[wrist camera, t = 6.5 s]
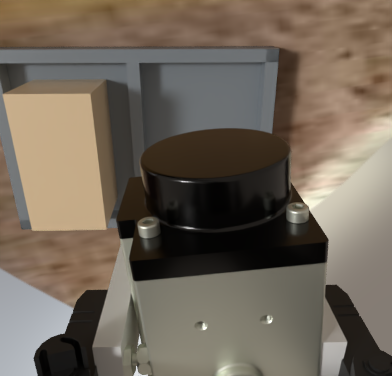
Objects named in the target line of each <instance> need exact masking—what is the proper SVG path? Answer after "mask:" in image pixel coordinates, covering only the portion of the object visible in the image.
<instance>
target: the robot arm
mask: <svg viewBox="0 0 392 376" xmlns="http://www.w3.org/2000/svg"><path fill="white" fill-rule="evenodd" d="M138 339H139V328H138V323H137V319H136V314H135V309H134V304H133V299H132V295H131V290H130V285H129V280H128V275H127V271H126V266H125V261H124V256H123V251H122V247H121V245H120V249H119V253H118V256H117V260H116V263H115V267H114V271H113V274H112V278H111V281H110V285H109V289H108V290H86V291H85V292H84V293H83V295H82V296H81V297H80V298H79V299H78V300H77V302H76V305H75V307H74V310H73V314H72V315H71V318H70V321H69V323H68V326H67V329H66V332H65V334H60V335H57V336H54V337H51V338H50V339H48V340H47V341H45V342H44V343H42V344H41V346H40V347H39V348H38V349H37V350H36V353H35V356H34V362H35V366H36V369H37V374H38V376H124V373H123V357H124V349H125V347H126V345H131V344H134V348H135V352H136V353H137V347H138ZM320 376H392V356H391V355H389V354H387V353H386V352H384V351H381V350H380V349H379V347H378V346H377V344H376V342H375V341H374V339H373V337H372V335H371V334H370V332H369V330H368V328H367V327H366V325H365V323H364V322H363V320H362V318H361V316H359V313H358V311H357V310H356V308H355V307H354V304H353V303H352V301H351V299H350V298H349V296H348V294H347V293H345V292H344V291H343V290H342V289H341V288H340V287H338V286H337V285H326V286H325V301H324V316H323V331H322V346H321V361H320Z"/></svg>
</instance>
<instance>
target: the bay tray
mask: <svg viewBox="0 0 392 376" xmlns="http://www.w3.org/2000/svg"><path fill="white" fill-rule="evenodd" d="M278 60H279V48H276V47H274V46H233V47H0V137H1V142H2V146H3V150H4V155H5V159H6V163H7V168H8V172H9V176H10V181H11V185H12V189H13V194H14V198H15V202H16V207H17V211H18V215H19V220H20V224H21V228H22V229H32V231H54V230H106V229H107V228H118V227H117V223H116V218H117V215H118V212H119V208H120V205H121V202H122V199H123V196H124V193H125V189H126V186H127V183H128V180H129V178H131V177H140V176H141V170H140V164H139V161H140V157H141V155H142V153H143V152H144V151H145V150H146V149H147V148H149V147H150V146H151V145H153V144H155V143H157V142H159V141H161V140H163V139H166V138H169V137H172V136H175V135H179V134H183V133H187V132H193V131H198V130H206V129H218V128H243V129H253V130H259V131H264V132H268V133H271V134H272V127H273V116H274V105H275V94H276V82H277V71H278Z"/></svg>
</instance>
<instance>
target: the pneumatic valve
mask: <svg viewBox="0 0 392 376" xmlns="http://www.w3.org/2000/svg"><path fill="white" fill-rule="evenodd" d="M139 164H140V170H141V176H140V177H131V178H129V180H128V183H127V186H126V189H125V193H124V196H123V199H122V202H121V205H120V208H119V212H118V215H117V218H116V223H117V227H118V232H119V237H120V242H121V247H122V251H123V256H124V261H125V266H126V271H127V275H128V280H129V285H130V290H131V295H132V299H133V304H134V309H135V314H136V319H137V323H138V328H139V333H140V338H141V343H142V344H140V345H139V346H138V349H137V353H136V352H135V348H134V344H131V345H126V347H125V349H124V357H123V373H124V376H133V375H134V373H135V371H136V366H137V367H138V372H139V373H140V374H142V375H146V374H148V376H320V361H321V346H322V331H323V316H324V301H325V286H326V270H327V255H328V238H327V236H326V235H325V233H324V232H323V230H322V229H321V227H320V226H319V224H318V223H317V221H316V220H315V218H314V217H313V215H312V214H311V212H310V211H309V207H308V206H307V205H306V204H305V203H304V201H303V200H302V198H301V197H300V195H299V194H298V192H297V191H296V189H295V188H294V186H293V185H292V183H291V148H290V146H289V144H288V143H287V142H286V141H285V140H284V139H282V138H281V137H279V136H277V135H274V134H271V133H268V132H264V131H259V130H253V129H243V128H218V129H206V130H198V131H193V132H187V133H183V134H179V135H175V136H172V137H169V138H166V139H163V140H161V141H159V142H157V143H155V144H153V145H151V146H150V147H149V148H147V149H146V150H145V151H144V152H143V153H142V155H141V157H140V161H139Z"/></svg>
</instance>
